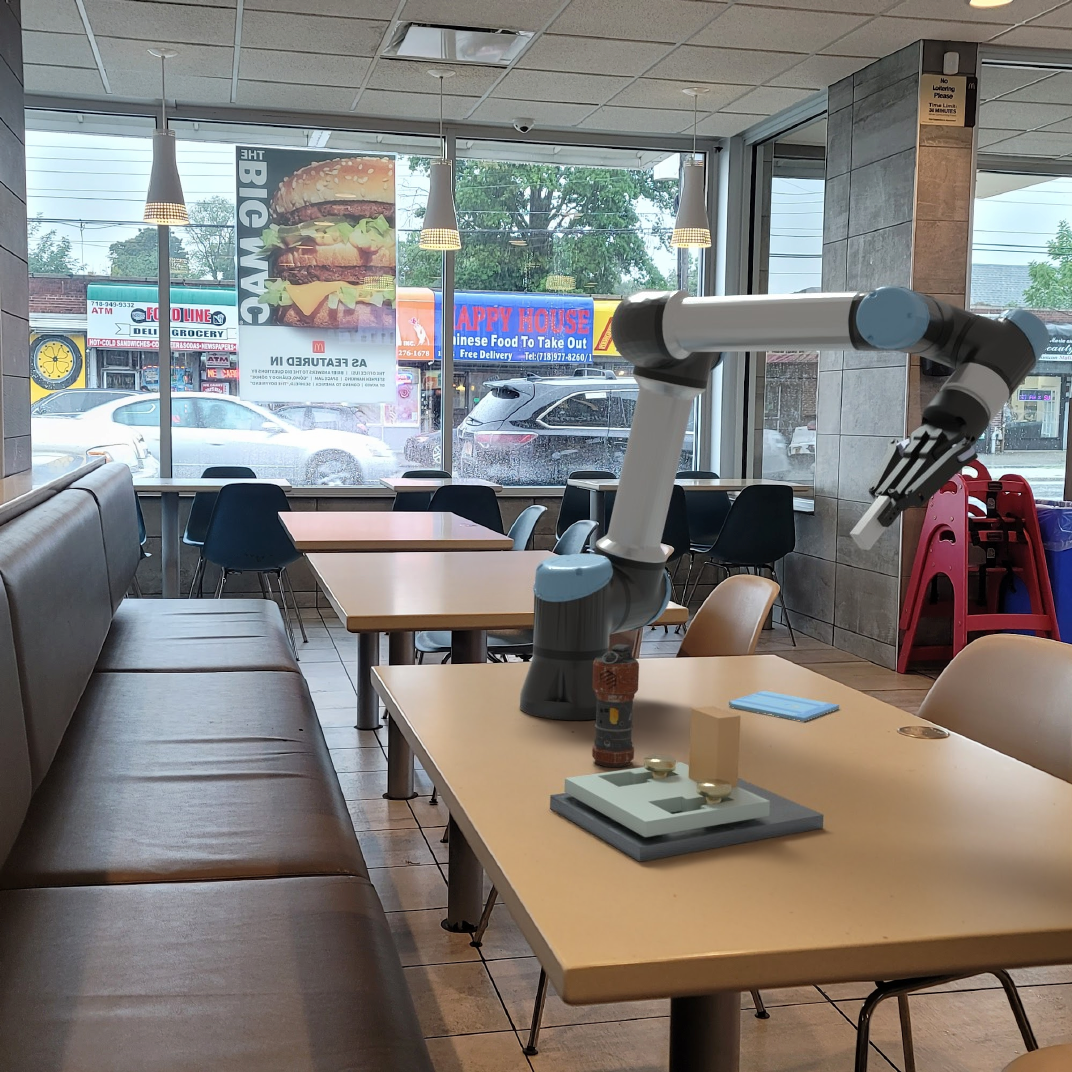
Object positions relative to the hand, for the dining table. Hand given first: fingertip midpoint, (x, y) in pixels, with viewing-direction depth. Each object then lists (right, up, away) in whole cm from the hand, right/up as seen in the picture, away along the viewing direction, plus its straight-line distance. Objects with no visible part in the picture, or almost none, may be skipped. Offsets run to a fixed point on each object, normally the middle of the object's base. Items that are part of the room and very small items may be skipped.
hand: (859, 541), depth 139 cm
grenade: (-29, -29, +10) cm, 42 cm away
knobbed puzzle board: (-25, -29, -13) cm, 40 cm away
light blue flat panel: (0, -27, +43) cm, 51 cm away
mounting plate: (-23, -30, -12) cm, 40 cm away
